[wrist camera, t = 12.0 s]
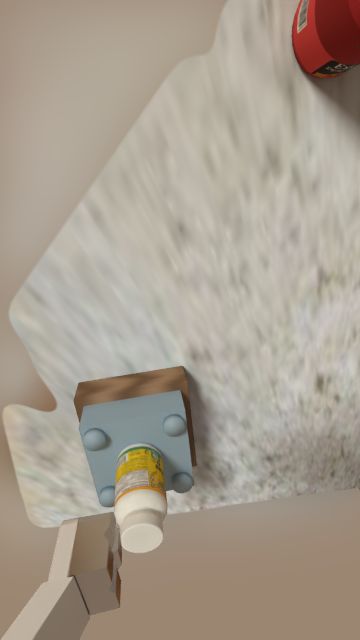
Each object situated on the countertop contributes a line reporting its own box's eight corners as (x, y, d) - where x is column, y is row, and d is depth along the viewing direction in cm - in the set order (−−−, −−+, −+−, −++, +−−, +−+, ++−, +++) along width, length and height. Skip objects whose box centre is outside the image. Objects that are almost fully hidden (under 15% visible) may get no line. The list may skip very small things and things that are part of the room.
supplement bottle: (113, 445, 37) (107, 524, 28) (159, 437, 38) (167, 513, 29) (120, 479, 39) (117, 563, 30) (164, 471, 40) (173, 551, 31)
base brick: (182, 365, 44) (187, 381, 40) (191, 444, 49) (196, 465, 45) (78, 382, 42) (73, 400, 39) (99, 461, 48) (97, 484, 44)
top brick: (180, 389, 40) (186, 415, 36) (189, 461, 45) (195, 492, 40) (83, 406, 39) (77, 434, 35) (102, 477, 44) (99, 511, 39)
